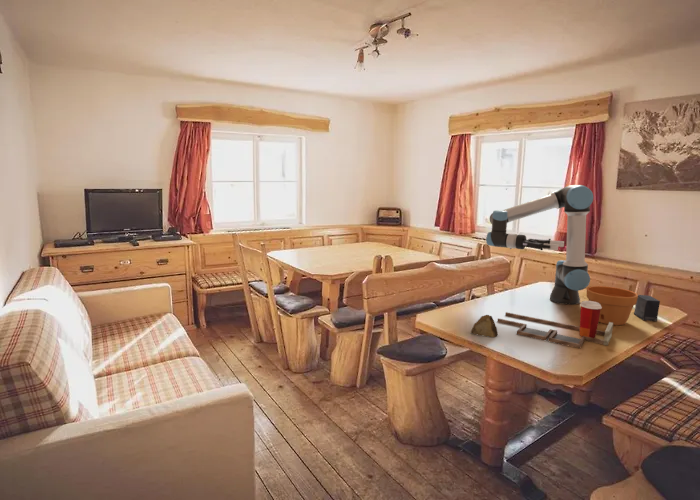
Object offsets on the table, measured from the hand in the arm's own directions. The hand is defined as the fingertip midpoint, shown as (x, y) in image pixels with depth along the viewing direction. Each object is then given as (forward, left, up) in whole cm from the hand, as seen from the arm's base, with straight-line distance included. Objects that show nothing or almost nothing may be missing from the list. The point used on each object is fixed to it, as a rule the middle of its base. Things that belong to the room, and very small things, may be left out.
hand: (561, 245), depth 209 cm
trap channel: (+18, -24, -35) cm, 46 cm away
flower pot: (+17, +16, -35) cm, 42 cm away
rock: (+10, -54, -35) cm, 65 cm away
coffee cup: (+28, -12, -35) cm, 47 cm away
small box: (+21, +38, -35) cm, 56 cm away
